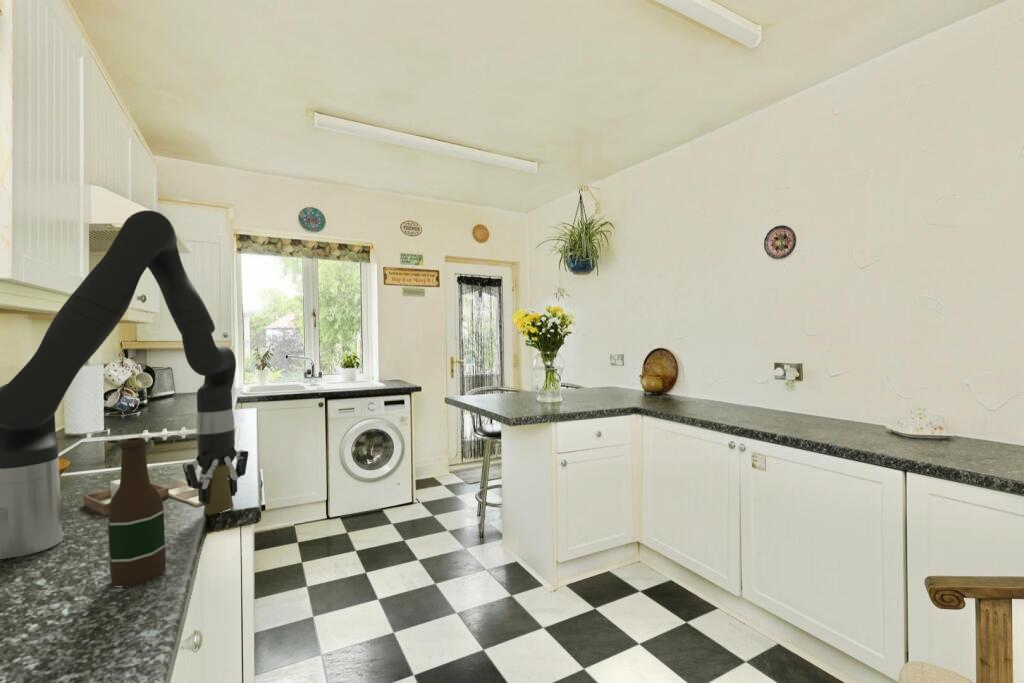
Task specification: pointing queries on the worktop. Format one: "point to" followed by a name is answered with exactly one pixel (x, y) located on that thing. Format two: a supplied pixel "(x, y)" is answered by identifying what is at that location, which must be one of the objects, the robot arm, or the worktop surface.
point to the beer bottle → (135, 521)
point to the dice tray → (103, 499)
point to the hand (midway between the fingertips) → (218, 499)
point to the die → (114, 487)
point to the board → (183, 492)
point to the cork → (219, 491)
